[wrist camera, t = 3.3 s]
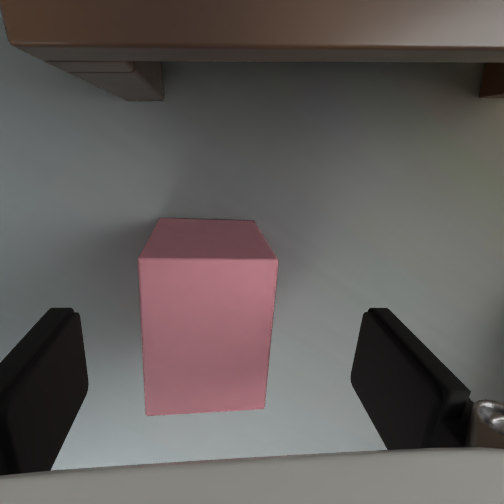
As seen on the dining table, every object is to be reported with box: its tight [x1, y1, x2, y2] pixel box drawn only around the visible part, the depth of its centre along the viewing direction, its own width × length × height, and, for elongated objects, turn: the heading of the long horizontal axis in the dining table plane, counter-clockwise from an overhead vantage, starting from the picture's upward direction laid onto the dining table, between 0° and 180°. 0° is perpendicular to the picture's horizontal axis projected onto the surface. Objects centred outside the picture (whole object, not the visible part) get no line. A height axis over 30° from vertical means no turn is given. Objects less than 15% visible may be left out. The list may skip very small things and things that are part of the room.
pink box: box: [138, 218, 278, 416], centre depth 14 cm, size 5×6×6 cm
